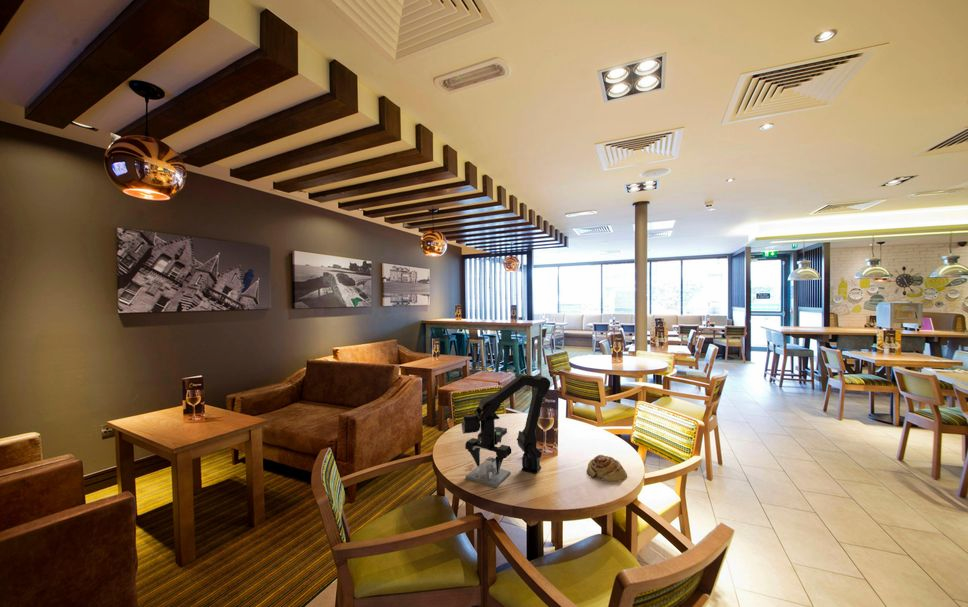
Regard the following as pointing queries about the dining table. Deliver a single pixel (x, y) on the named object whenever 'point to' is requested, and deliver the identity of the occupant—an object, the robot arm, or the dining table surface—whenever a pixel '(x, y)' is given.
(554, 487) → the dining table surface
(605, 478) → the pastry
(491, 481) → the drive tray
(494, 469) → the block
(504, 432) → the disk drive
